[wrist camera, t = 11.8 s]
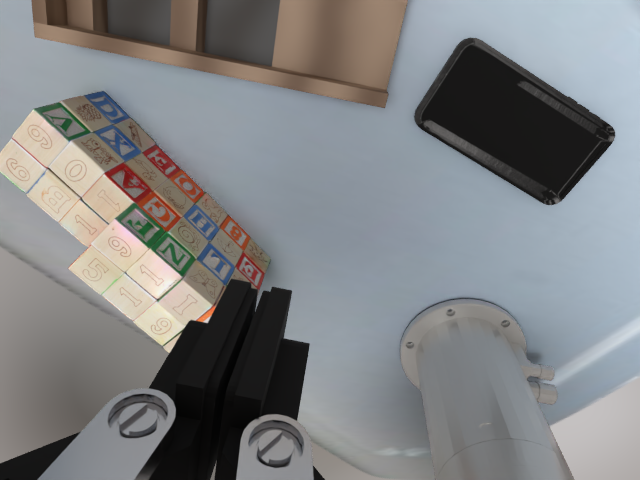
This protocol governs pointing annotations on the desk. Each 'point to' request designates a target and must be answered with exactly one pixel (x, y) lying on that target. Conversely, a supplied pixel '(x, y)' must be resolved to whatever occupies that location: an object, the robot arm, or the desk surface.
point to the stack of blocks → (130, 214)
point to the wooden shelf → (244, 38)
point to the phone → (512, 122)
